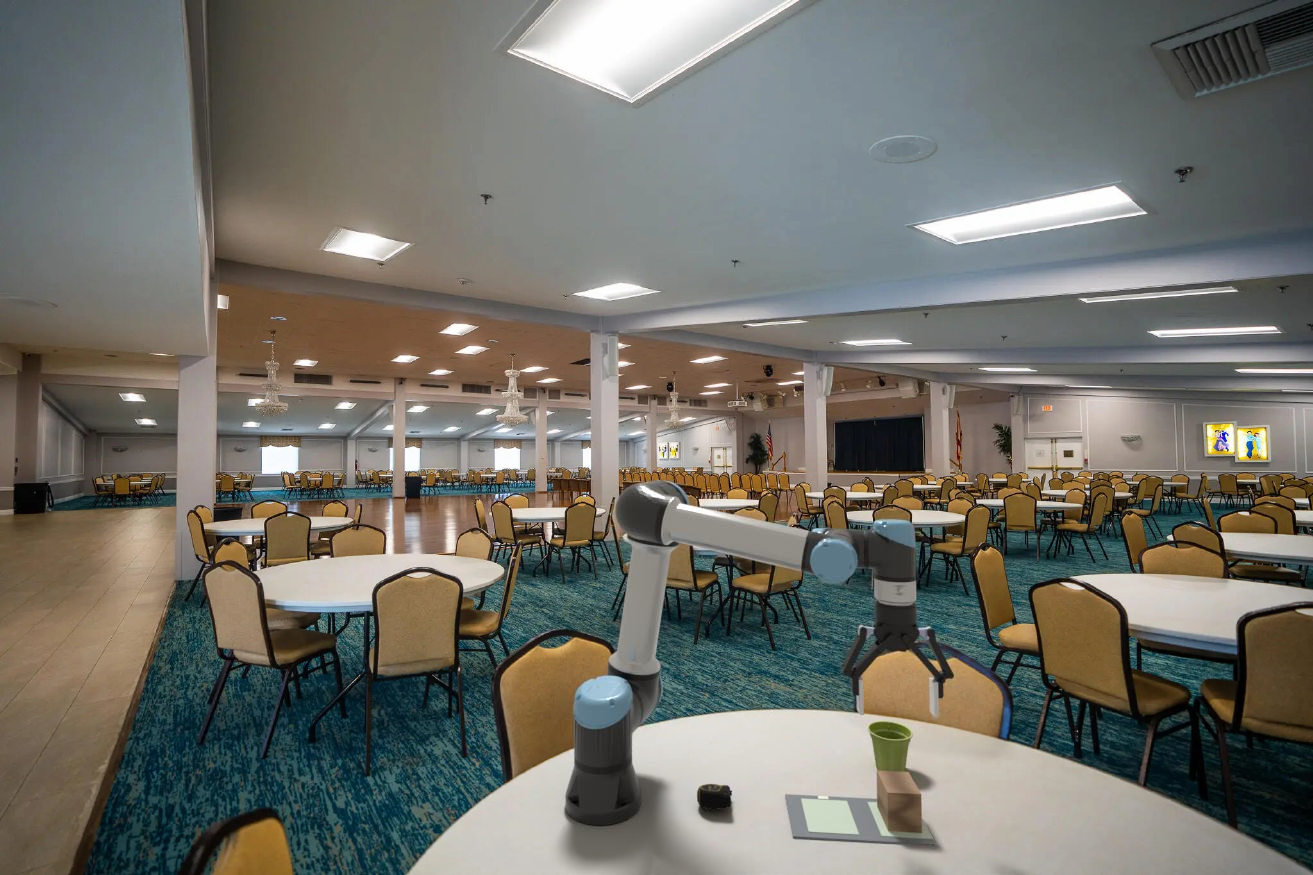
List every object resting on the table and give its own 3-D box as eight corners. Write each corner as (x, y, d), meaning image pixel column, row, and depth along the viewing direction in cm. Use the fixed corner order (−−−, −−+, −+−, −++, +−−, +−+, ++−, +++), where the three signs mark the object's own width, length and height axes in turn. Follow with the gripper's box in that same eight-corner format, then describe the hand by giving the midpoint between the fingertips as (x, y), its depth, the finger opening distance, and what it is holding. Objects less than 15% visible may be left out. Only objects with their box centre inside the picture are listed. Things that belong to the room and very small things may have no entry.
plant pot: (920, 780, 133) (919, 739, 133) (876, 780, 133) (875, 739, 133) (903, 759, 142) (903, 720, 143) (862, 758, 143) (862, 720, 143)
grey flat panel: (793, 840, 112) (793, 835, 112) (785, 798, 126) (785, 793, 126) (936, 848, 110) (936, 843, 110) (912, 804, 124) (912, 799, 124)
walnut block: (888, 831, 114) (887, 792, 114) (877, 806, 122) (876, 770, 122) (922, 832, 113) (921, 794, 113) (908, 808, 121) (908, 771, 121)
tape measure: (731, 814, 119) (730, 792, 120) (696, 813, 119) (695, 791, 120) (732, 803, 125) (731, 782, 126) (698, 802, 126) (698, 782, 127)
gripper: (832, 604, 116) (833, 719, 115) (971, 607, 113) (973, 724, 113) (825, 595, 123) (826, 703, 123) (955, 597, 121) (958, 707, 120)
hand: (897, 713), depth 118 cm, fingers open, 13 cm apart
